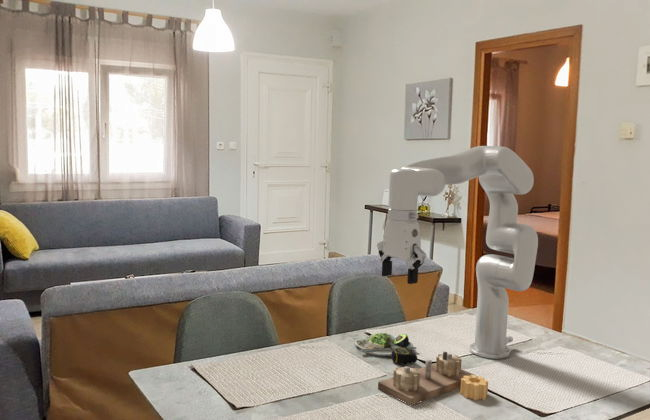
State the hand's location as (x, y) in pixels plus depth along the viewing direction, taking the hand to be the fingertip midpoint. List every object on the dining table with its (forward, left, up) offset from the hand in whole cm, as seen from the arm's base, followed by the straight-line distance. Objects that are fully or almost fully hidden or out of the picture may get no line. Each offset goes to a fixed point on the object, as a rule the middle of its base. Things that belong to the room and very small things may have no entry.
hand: (399, 279), depth 155 cm
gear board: (-8, +5, -30) cm, 31 cm away
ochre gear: (-14, +16, -30) cm, 37 cm away
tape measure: (-15, -11, -30) cm, 36 cm away
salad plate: (-19, -23, -31) cm, 43 cm away
